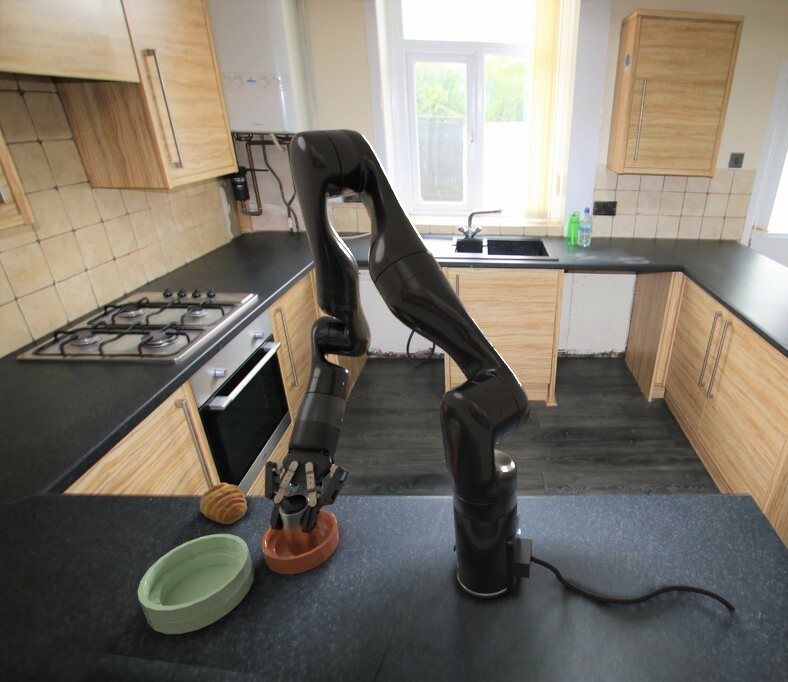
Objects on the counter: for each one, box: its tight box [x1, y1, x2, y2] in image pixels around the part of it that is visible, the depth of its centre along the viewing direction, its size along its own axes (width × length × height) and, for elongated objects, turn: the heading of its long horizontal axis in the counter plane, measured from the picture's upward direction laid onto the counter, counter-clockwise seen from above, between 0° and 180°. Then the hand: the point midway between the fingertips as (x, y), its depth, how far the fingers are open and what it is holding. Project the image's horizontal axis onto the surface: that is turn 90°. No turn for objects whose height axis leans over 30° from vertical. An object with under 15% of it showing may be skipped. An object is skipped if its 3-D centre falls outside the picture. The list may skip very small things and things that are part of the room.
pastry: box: [198, 482, 248, 525], centre depth 85 cm, size 9×7×4 cm
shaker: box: [279, 493, 317, 556], centre depth 76 cm, size 4×4×9 cm
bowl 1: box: [137, 533, 255, 635], centre depth 69 cm, size 13×14×5 cm
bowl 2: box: [261, 508, 340, 576], centre depth 77 cm, size 11×11×4 cm
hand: (291, 530), depth 74 cm, fingers closed on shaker, 4 cm apart
